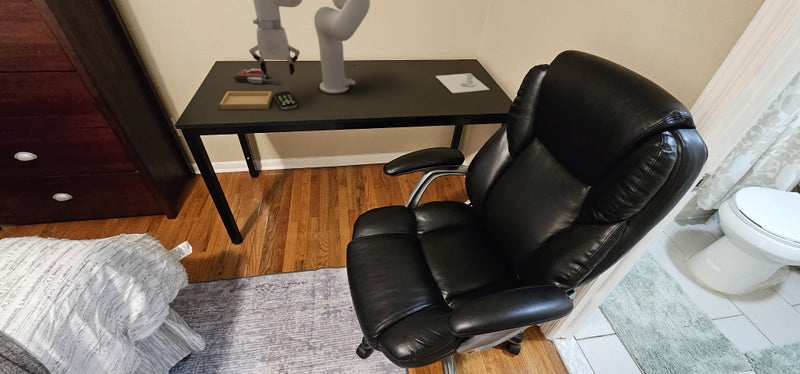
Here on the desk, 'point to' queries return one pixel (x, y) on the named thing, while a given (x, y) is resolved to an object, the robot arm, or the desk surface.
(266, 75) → the walkie-talkie
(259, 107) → the tray
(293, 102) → the remote control
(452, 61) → the desk surface
